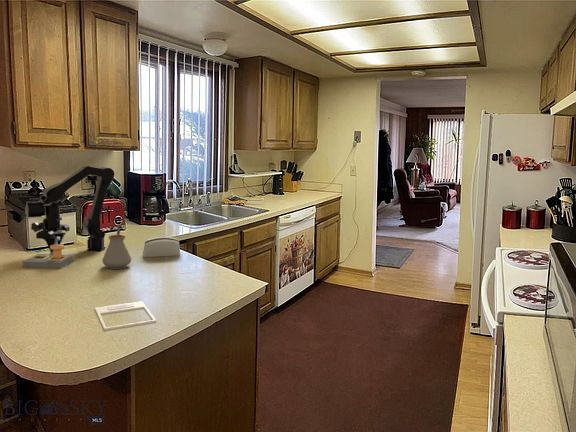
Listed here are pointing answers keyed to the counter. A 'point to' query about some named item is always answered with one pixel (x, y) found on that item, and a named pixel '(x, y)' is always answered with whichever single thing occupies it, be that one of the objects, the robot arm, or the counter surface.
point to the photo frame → (123, 308)
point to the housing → (47, 261)
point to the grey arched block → (161, 247)
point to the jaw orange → (57, 250)
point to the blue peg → (56, 242)
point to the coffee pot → (116, 252)
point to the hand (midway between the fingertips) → (54, 250)
